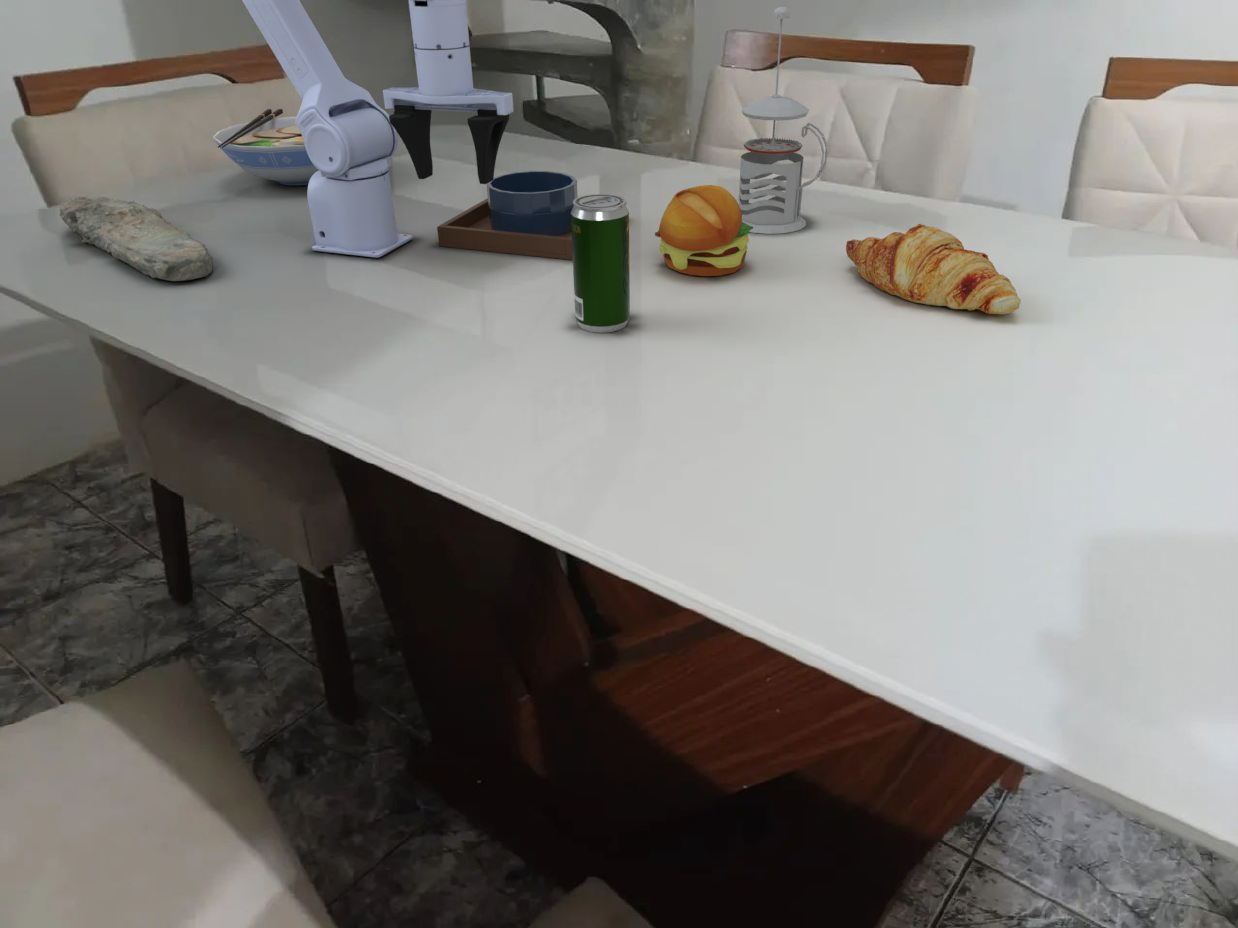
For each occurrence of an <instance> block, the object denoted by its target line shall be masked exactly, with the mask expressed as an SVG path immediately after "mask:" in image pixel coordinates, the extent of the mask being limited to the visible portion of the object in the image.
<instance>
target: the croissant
mask: <svg viewBox="0 0 1238 928" xmlns="http://www.w3.org/2000/svg"><path fill="white" fill-rule="evenodd" d="M845 252H846V255H847V258H849V259H848V260H851V262H852V263H853V264H854V265H855V267H856V269H857V271H858V273H859V275H860V276H861V278H863V279H864V280H865V281H866V282H868V283H872V284H873V285H874V286H875V287H876V288H878V289H879V290H881V291H883V292H885V293H887V294H889V295H891V296H896V297H899V298H901V299H904V300H906V301H908V302H912V303H916V304H923V305H928V306H937V307H947V308H950V309H952V310H967V311H975V310H979V311H981V312H983V313H986V314H989V315H1005V314H1009V313H1013V312H1015V311H1017V310H1018V309H1020V305H1021V299H1020V297H1019V296H1018V294H1017V291H1016V288H1015V286H1014V285H1013V284H1012V282H1011V280H1010V279H1009V278H1008V277H1007V276H1005V275H1004V274H1000V273H999V272H998V270H997V268H996V267H995V265H994V264H993V262H992V261H991V260H989V255H988V254H987V253H985V252H979V251H974V250H971V249H965V247H964V245H963V242H962V241H960V239H959V238H957V237H956V236H954V234H952V233H950V232H947V231H944V230H942V229H941V228H938V227H934V226H927V225H925V224H922V223H918V224H917V225H915V226H913V227H911V228H909V229H908V230H907V231H906V232H905V233H904V232H900V231H894V232H893V231H892V232H891V233H890V234H888V235H886V236H884V238H880V237H872V236H870V237H869V236H868V237H865V238H864V239H862V240H861V239H860V240H859V239H851V240H847V242H846V246H845Z"/></svg>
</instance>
